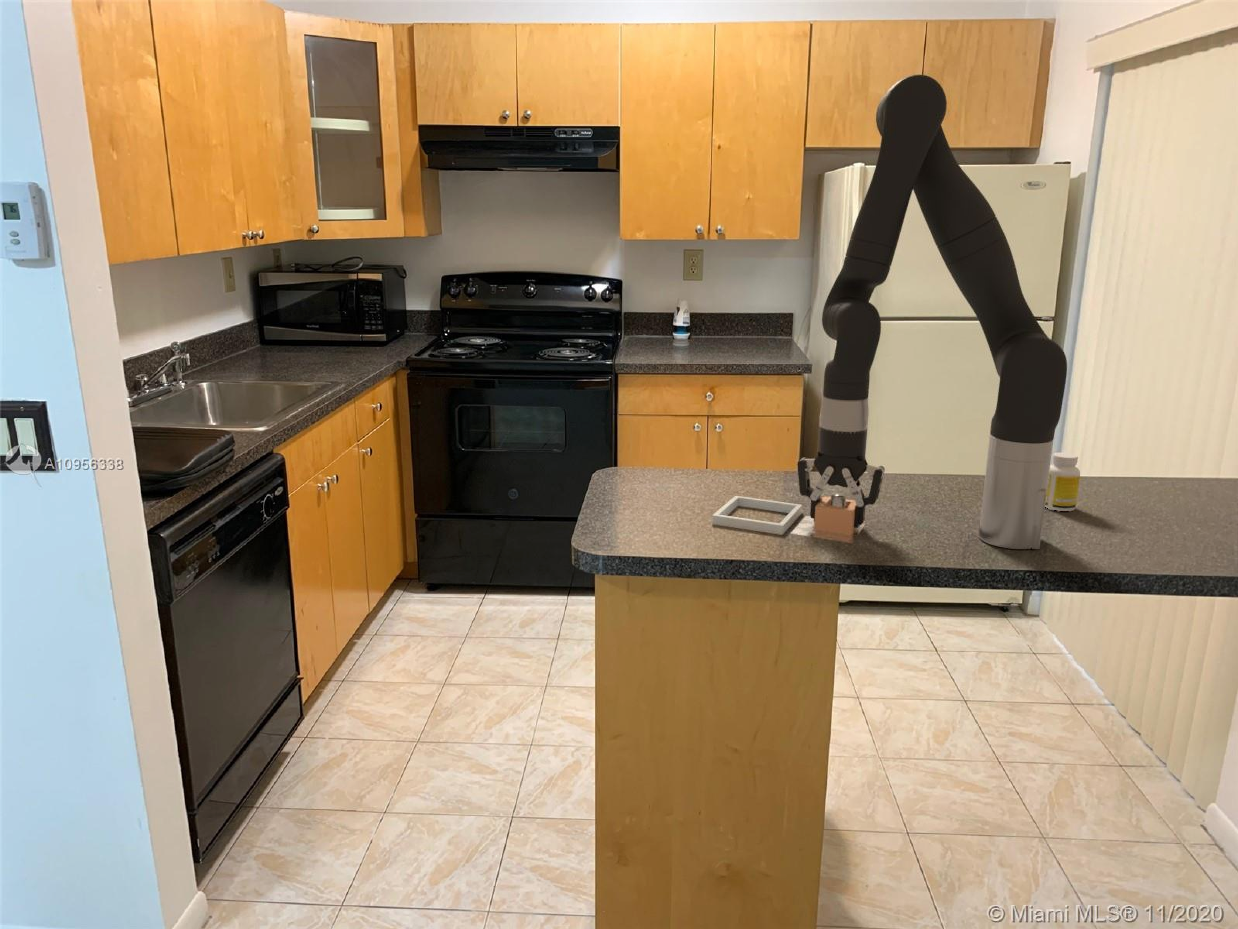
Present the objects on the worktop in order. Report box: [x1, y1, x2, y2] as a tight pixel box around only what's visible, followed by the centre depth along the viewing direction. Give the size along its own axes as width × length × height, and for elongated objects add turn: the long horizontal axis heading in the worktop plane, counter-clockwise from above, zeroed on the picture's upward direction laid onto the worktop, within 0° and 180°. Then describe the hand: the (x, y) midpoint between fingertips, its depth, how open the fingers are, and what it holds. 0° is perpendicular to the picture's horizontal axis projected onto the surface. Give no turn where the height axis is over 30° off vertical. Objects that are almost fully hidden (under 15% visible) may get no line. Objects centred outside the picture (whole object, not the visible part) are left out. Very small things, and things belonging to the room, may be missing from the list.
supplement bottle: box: [1045, 452, 1081, 512], centre depth 164 cm, size 5×5×10 cm
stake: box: [790, 492, 866, 544], centre depth 151 cm, size 10×10×6 cm
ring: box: [814, 496, 856, 535], centre depth 152 cm, size 6×6×4 cm
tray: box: [711, 495, 803, 536], centre depth 156 cm, size 12×12×2 cm
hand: (836, 523), depth 152 cm, fingers closed on ring, 6 cm apart
